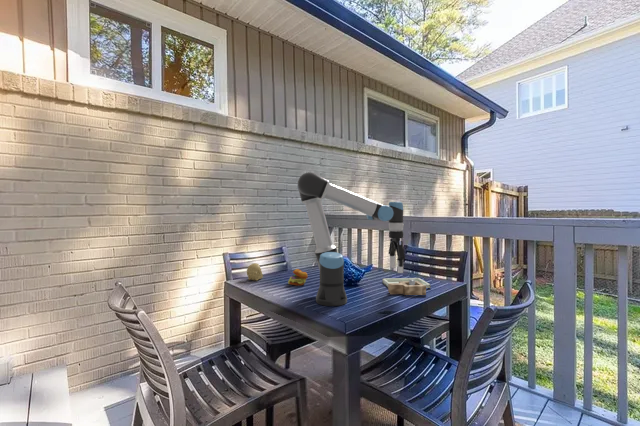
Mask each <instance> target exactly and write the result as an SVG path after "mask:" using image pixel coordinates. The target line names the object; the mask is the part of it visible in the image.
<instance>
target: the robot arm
mask: <svg viewBox="0 0 640 426" xmlns="http://www.w3.org/2000/svg"><path fill="white" fill-rule="evenodd" d="M296 185H297V187H296V188H297V190H298V192H299V196H300V201H301V203H303V204H304V205H305V209H306V212H307V215H308V220H309V223H310V228H311V232H312V235H313V239H314V242H315V246H316V250H314V254H315V257H316V263H317V267H318V269H319V287H318V290H317V292H316V296H315V302H316V303H317V304H318V305H320V306H325V307H326V306H327V307H338V306H339V307H340V306H343V305H344V306H345V305H346V304H347V303H348V296H347V293H346V290H345V289H346V288H345V286H344V266H345V265H344V264H345V260H344V255H343V254H341V253H340V252H338V249H337V246H336V245H335V244H333V241H332V238H331V233H330V229H329V226H328V222H327V218H326V214H325V210H324V207H323V201H322V199H326V200H329V201H331V202H334V203H336V204H340V205H342V206H344V207H347V208H349V209H352V210H354V211H357V212H359V213H362V214H365V216H366V218H367V220H370V221H382V222H387V221H388V230H389V231H388V238H389V241H390V242H389V246H388V247H389V248H388V255H389V268H390V269H395V268H396V261H397V274H403V273H404V260H405V258H406V257H405V251H404V246H403V240H401V239H403V238H404V231H403V230H404V226H405V224H404V203H403V202H402V201H389V202H388V204H386V205H385V204H382V203H380V202H378V201H374V200H373V199H370V198H367V197H365V196H363V195H360V194H358V193H355V192H352V191H350V190H348V189H346V188H342V187H341V186H338V185H335V184H334V183H333V184H332V183H331V182H330V180H329V179H326V178H324V177H322V176H320V175H318V174H316V173H315V172H314V173H313V172H311V171H310V172H305V173H303V174H302V175H300V176H299V178H298V181H297V184H296ZM396 255H397V259H396Z"/></svg>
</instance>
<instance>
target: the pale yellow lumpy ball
mask: <svg viewBox="0 0 640 426" xmlns="http://www.w3.org/2000/svg"><path fill="white" fill-rule="evenodd" d="M262 272H263V271H262V268H261V266H260V264H259V263H258V262H257V263H255V262H254V263H251V264H249V266H248V267H247V268H246V276H247V277H248V279H247V280H249V281H251V280H252V281H258V280H261V279H263V277H264V274H263V273H262Z"/></svg>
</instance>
